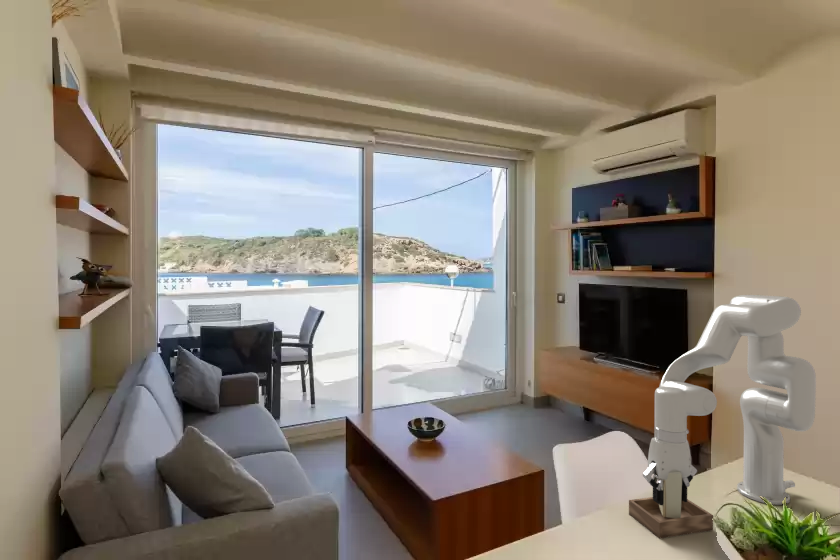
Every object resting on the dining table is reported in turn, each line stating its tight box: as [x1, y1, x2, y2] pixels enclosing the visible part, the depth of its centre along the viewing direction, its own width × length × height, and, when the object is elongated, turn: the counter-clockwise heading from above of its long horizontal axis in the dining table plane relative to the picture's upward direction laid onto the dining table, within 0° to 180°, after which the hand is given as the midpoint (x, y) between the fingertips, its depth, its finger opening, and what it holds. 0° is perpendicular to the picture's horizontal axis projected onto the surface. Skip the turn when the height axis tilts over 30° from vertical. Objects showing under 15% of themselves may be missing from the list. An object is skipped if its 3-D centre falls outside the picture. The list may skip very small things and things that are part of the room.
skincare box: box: [659, 472, 682, 518], centre depth 121 cm, size 6×4×12 cm
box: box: [628, 496, 714, 539], centre depth 121 cm, size 16×12×4 cm
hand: (669, 500), depth 121 cm, fingers closed on skincare box, 6 cm apart
